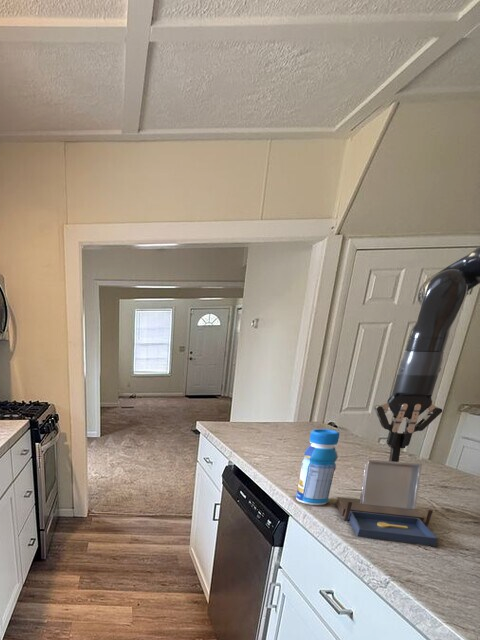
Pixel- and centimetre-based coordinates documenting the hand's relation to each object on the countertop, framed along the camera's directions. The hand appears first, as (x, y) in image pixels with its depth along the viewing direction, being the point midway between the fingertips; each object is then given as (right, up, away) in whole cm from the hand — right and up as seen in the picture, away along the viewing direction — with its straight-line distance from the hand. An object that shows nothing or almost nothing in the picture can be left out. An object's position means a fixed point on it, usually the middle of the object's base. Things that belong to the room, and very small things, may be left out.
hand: (396, 447), depth 98 cm
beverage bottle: (-12, -13, +17) cm, 24 cm away
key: (-2, -19, -1) cm, 20 cm away
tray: (-3, -20, -2) cm, 21 cm away
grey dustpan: (0, -6, +2) cm, 6 cm away
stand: (0, -17, +7) cm, 18 cm away
